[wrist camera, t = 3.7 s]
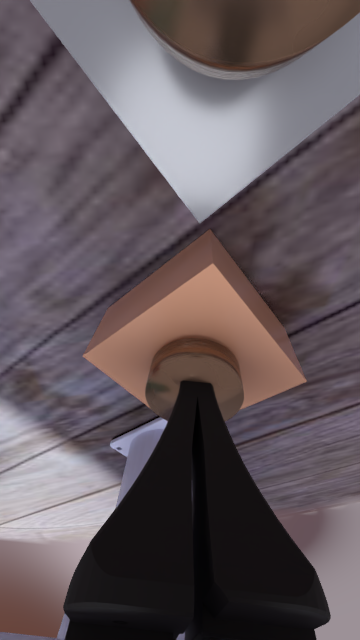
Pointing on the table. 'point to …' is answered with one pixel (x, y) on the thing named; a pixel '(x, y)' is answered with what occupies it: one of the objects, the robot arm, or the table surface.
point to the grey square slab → (204, 99)
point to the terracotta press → (196, 323)
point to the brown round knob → (242, 32)
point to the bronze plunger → (194, 375)
